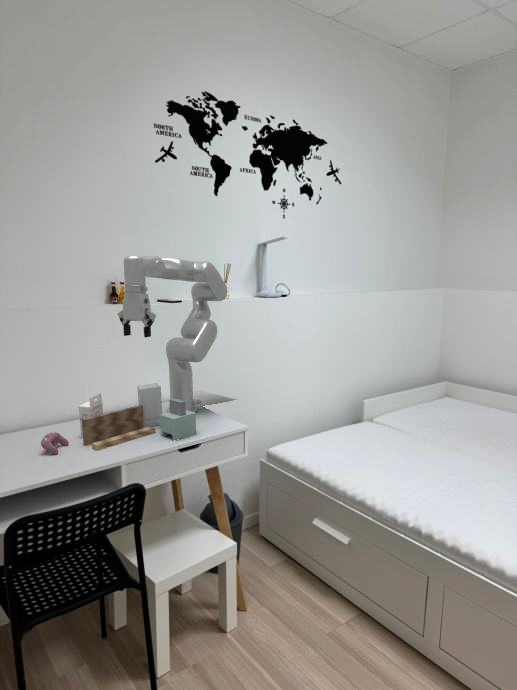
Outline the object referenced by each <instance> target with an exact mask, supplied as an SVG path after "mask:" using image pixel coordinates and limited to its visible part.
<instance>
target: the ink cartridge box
mask: <svg viewBox="0 0 517 690" xmlns="http://www.w3.org/2000/svg"><path fill="white" fill-rule="evenodd" d="M95 399H96V400H95ZM88 400H89V401H87V402H85V403H83V404H81V405H79V406H78V413H79V414H78V415H79V426H80V427H79V428H80V437H81V438H83V431H82V419H85V418H90V417H94V416H98V415H102V414H104V409H103V399H102V394H101V392H100V393H97V394H96V395H93V396H91V397H90V398H89V399H88Z"/></svg>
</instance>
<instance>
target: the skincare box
mask: <svg viewBox="0 0 517 690" xmlns="http://www.w3.org/2000/svg"><path fill="white" fill-rule="evenodd" d="M136 386H137V399H138V400H137V401H138V403H137V404H138V405H142V406H143V422H144V428H146V427H150V426H151V427H155V426H156V427H157V426H160V415H161V414H163V405H162V402H163V401H162V386H161V385H160V384H159V383H158V382H155V383H147V384H139V385H136Z"/></svg>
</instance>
